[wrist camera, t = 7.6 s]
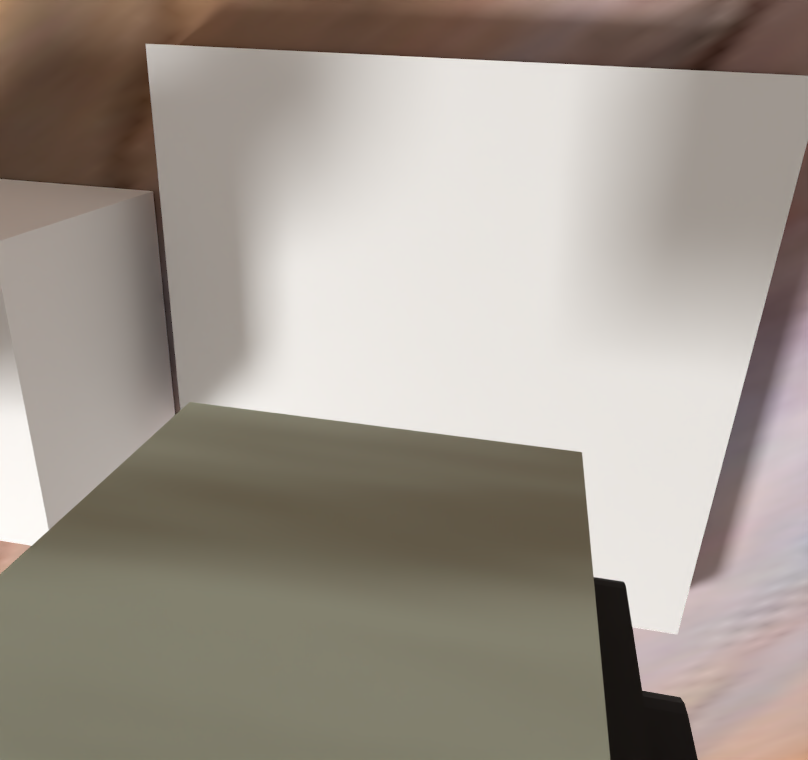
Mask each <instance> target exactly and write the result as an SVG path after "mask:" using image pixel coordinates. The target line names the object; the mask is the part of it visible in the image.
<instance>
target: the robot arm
mask: <svg viewBox="0 0 808 760" xmlns="http://www.w3.org/2000/svg"><path fill="white" fill-rule="evenodd" d="M594 588H595V599H596V609H597V620H598V631H599V642H600V653H601V664H602V674H603V685H604V696H605V707H606V718H607V729H608V740H609V750H610V760H698V759H697V755H696V750H695V746H694V741H693V736H692V732H691V727H690V723H689V718H688V714H687V711H686V707H685V704H684V702H683V701H682V699H681V698H680V697H675V696H669V695H663V694H658V693H652V692H646V691H642V688H641V681H640V675H639V668H638V662H637V655H636V649H635V642H634V635H633V629H632V622H631V616H630V609H629V603H628V596H627V590H626V585H625V583H624V582H623V581H616V580H610V579H603V578H597V577H594Z"/></svg>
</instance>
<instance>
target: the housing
mask: <svg viewBox="0 0 808 760" xmlns="http://www.w3.org/2000/svg"><path fill="white" fill-rule="evenodd" d="M0 760H610V750H609V740H608V729H607V718H606V707H605V696H604V685H603V674H602V664H601V653H600V642H599V631H598V620H597V609H596V599H595V588H594V577H593V566H592V555H591V544H590V533H589V523H588V512H587V501H586V490H585V479H584V468H583V458H582V452H577V451H570V450H562V449H554V448H546V447H538V446H530V445H523V444H515V443H507V442H499V441H491V440H483V439H476V438H468V437H460V436H452V435H444V434H437V433H429V432H421V431H413V430H405V429H397V428H390V427H382V426H374V425H366V424H358V423H350V422H343V421H335V420H327V419H319V418H311V417H304V416H296V415H288V414H280V413H272V412H264V411H257V410H249V409H241V408H233V407H225V406H217V405H210V404H202V403H194V402H189V403H188V404H187V405H186V406H185V407H183V408H182V409H181V410H180V411H179V412H178V413H177V414H176V415H175V416H174V417H172V418H171V419H170V420H169V421H168V422H167V423H166V424H165V425H164V426H163V427H161V428H160V429H159V430H158V431H157V432H156V433H155V434H154V435H153V436H152V437H151V438H149V439H148V440H147V441H146V442H145V443H144V444H143V445H142V446H141V447H140V448H138V449H137V450H136V451H135V452H134V453H133V454H132V455H131V456H130V457H129V458H127V459H126V460H125V461H124V462H123V463H122V464H121V465H120V466H119V467H118V468H116V469H115V470H114V471H113V472H112V473H111V474H110V475H109V476H108V477H107V478H105V479H104V480H103V481H102V482H101V483H100V484H99V485H98V486H97V487H96V488H95V489H93V490H92V491H91V492H90V493H89V494H88V495H87V496H86V497H85V498H84V499H82V500H81V501H80V502H79V503H78V504H77V505H76V506H75V507H74V508H73V509H71V510H70V511H69V512H68V513H67V514H66V515H65V516H64V517H63V518H62V519H60V520H59V521H58V522H57V523H56V524H55V525H54V526H53V527H52V528H51V529H50V530H48V531H47V532H46V533H45V534H44V535H43V536H42V537H41V538H40V539H39V540H37V541H36V542H35V543H34V544H33V545H32V546H31V547H30V548H29V549H28V550H26V551H25V552H24V553H23V554H22V555H21V556H20V557H19V558H18V559H17V560H15V561H14V562H13V563H12V564H11V565H10V566H9V567H8V568H7V569H6V570H4V571H3V572H2V573H1V574H0Z"/></svg>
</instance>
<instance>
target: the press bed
mask: <svg viewBox="0 0 808 760" xmlns="http://www.w3.org/2000/svg"><path fill="white" fill-rule="evenodd" d="M146 54H147V65H148V75H149V86H150V96H151V107H152V117H153V128H154V138H155V149H156V159H157V170H158V180H159V191H160V201H161V212H162V222H163V233H164V243H165V254H166V265H167V275H168V286H169V296H170V307H171V317H172V328H173V338H174V349H175V359H176V370H177V380H178V391H179V401H180V410H181V409H182V408H183V407H185V406H186V405H187V404H188V403H189V402H194V403H202V404H210V405H217V406H225V407H233V408H241V409H249V410H257V411H264V412H272V413H280V414H288V415H296V416H304V417H311V418H319V419H327V420H335V421H343V422H350V423H358V424H366V425H374V426H382V427H390V428H397V429H405V430H413V431H421V432H429V433H437V434H444V435H452V436H460V437H468V438H476V439H483V440H491V441H499V442H507V443H515V444H523V445H530V446H538V447H546V448H554V449H562V450H570V451H577V452H582V458H583V468H584V479H585V490H586V501H587V512H588V523H589V533H590V544H591V555H592V566H593V577H597V578H603V579H610V580H616V581H623V582H624V583H625V585H626V590H627V596H628V603H629V609H630V616H631V622H632V627H634V628H640V629H646V630H652V631H659V632H665V633H671V634H678V630H679V626H680V623H681V619H682V615H683V611H684V607H685V604H686V600H687V596H688V592H689V588H690V585H691V581H692V577H693V573H694V570H695V566H696V562H697V558H698V554H699V551H700V547H701V543H702V539H703V535H704V532H705V528H706V524H707V520H708V517H709V513H710V509H711V505H712V501H713V498H714V494H715V490H716V486H717V482H718V479H719V475H720V471H721V467H722V464H723V460H724V456H725V452H726V448H727V445H728V441H729V437H730V433H731V429H732V426H733V422H734V418H735V414H736V411H737V407H738V403H739V399H740V395H741V392H742V388H743V384H744V380H745V376H746V373H747V369H748V365H749V361H750V358H751V354H752V350H753V346H754V342H755V339H756V335H757V331H758V327H759V323H760V320H761V316H762V312H763V308H764V305H765V301H766V297H767V293H768V289H769V286H770V282H771V278H772V274H773V270H774V267H775V263H776V259H777V255H778V252H779V248H780V244H781V240H782V236H783V233H784V229H785V225H786V221H787V218H788V214H789V210H790V206H791V202H792V199H793V195H794V191H795V187H796V183H797V180H798V176H799V172H800V168H801V165H802V161H803V157H804V153H805V149H806V146H807V142H808V76H803V75H783V74H762V73H741V72H721V71H700V70H679V69H659V68H638V67H617V66H596V65H576V64H555V63H534V62H514V61H493V60H472V59H451V58H431V57H410V56H389V55H369V54H348V53H327V52H306V51H286V50H265V49H244V48H224V47H203V46H182V45H162V44H146ZM174 416H175V408H174V398H173V388H172V378H171V368H170V358H169V347H168V337H167V327H166V317H165V307H164V297H163V287H162V277H161V267H160V256H159V246H158V236H157V226H156V216H155V206H154V196H153V191H144V190H132V189H120V188H107V187H95V186H82V185H70V184H58V183H45V182H33V181H21V180H8V179H0V540H1V541H7V542H13V543H19V544H25V545H31V546H32V545H33V544H34V543H35V542H36V541H37V540H39V539H40V538H41V537H42V536H43V535H44V534H45V533H46V532H47V531H48V530H50V529H51V528H52V527H53V526H54V525H55V524H56V523H57V522H58V521H59V520H60V519H62V518H63V517H64V516H65V515H66V514H67V513H68V512H69V511H70V510H71V509H73V508H74V507H75V506H76V505H77V504H78V503H79V502H80V501H81V500H82V499H84V498H85V497H86V496H87V495H88V494H89V493H90V492H91V491H92V490H93V489H95V488H96V487H97V486H98V485H99V484H100V483H101V482H102V481H103V480H104V479H105V478H107V477H108V476H109V475H110V474H111V473H112V472H113V471H114V470H115V469H116V468H118V467H119V466H120V465H121V464H122V463H123V462H124V461H125V460H126V459H127V458H129V457H130V456H131V455H132V454H133V453H134V452H135V451H136V450H137V449H138V448H140V447H141V446H142V445H143V444H144V443H145V442H146V441H147V440H148V439H149V438H151V437H152V436H153V435H154V434H155V433H156V432H157V431H158V430H159V429H160V428H161V427H163V426H164V425H165V424H166V423H167V422H168V421H169V420H170V419H171V418H172V417H174Z"/></svg>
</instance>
